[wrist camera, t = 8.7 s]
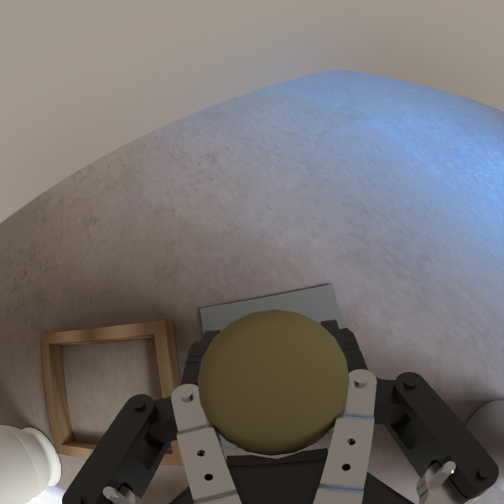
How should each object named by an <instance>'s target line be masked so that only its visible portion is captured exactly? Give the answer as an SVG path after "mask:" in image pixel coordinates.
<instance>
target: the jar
mask: <svg viewBox="0 0 504 504" xmlns="http://www.w3.org/2000/svg"><path fill="white" fill-rule="evenodd" d="M60 477H61V465H60V460H59V457H58V455H57V453H56V451H55V448H54V447H53V445H52V443H51V442H50V441H49V440H48V438H47V437H46V436H45V435H44V434H43V433H41V432H40V431H38V430H37V429H34V428H30V427H28V428H24V429H22V430H21V429H18V428H15V427H11V426H5V425H0V504H25V503H26V502H28V501H29V500H31V499H32V498H34V497H36V496H37V495H39V494H40V493H41V492H42V491H43V490H44V489H45V488H46V487H51V486H54V485H56V484H57V483H58V482H59V480H60Z"/></svg>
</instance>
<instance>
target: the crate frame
mask: <svg viewBox="0 0 504 504" xmlns="http://www.w3.org/2000/svg"><path fill="white" fill-rule="evenodd" d="M146 338H155V347H156V355H157V363H158V371H159V378H160V385H161V392H162V398H167V397H170V396H171V395H172V392H173V391H174V390H175V389H176V388H177V387H179V386H180V385H181V377H180V371H179V363H178V356H177V348H176V340H175V332H174V323H172V322H169V321H167V320H165V319H164V320H157V321H150V322H142V323H135V324H127V325H119V326H110V327H101V328H92V329H83V330H73V331H62V332H51V333H41V346H42V363H43V375H44V385H45V394H46V401H47V408H48V415H49V421H50V427H51V432H52V437H53V442H54V447H55V451H56V453H58V454H63V455H68V456H74V457H80V458H86V459H88V458H89V456H90V455H91V453H92V452H93V450H94V449H95V447H96V446H97V445H98V444H89V443H81V442H74V439H73V434H72V429H71V423H70V417H69V411H68V405H67V397H66V390H65V381H64V371H63V359H62V346H66V345H81V344H94V343H106V342H117V341H127V340H137V339H146ZM160 465H184V464H183V460H182V456H181V452H180V448H179V444H178V440H175V441H172V442H171V448H168V449H167V451H166V453H165V455H164V457H163V459H162V461H161V463H160Z"/></svg>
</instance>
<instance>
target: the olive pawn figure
mask: <svg viewBox="0 0 504 504" xmlns="http://www.w3.org/2000/svg"><path fill="white" fill-rule="evenodd" d="M197 382H198V390H199V398H200V404H201V406H202V408H203V410H204V413H205V415H206V417H207V419H208V421H209V423H210V424H212V425H213V427H214V429H215V430H216V431H217V432H218V433H219V434H220V435H221V436H222V437H223V438H224V439H225V440H226V441H228V442H230V443H232V444H234V445H236V446H238V447H239V448H241V449H243V450H245V451H247V452H253V453H258V454H264V455H271V456H272V455H280V454H287V453H294V452H297V451H299V450H301V449H303V448H306V447H308V446H310V445H312V444H314V443H316V442H317V441H319V440H320V439H321V438H322V437H323V436H324V435H325V434H326V433H327V432H328V431H329V430H330V429H331V428H333V427H334V425H335V423H336V419H337V415H338V414H341V413H342V411H343V409H344V407H345V405H346V400H347V395H348V389H349V384H350V380H349V373H348V367H347V361H346V358H345V356H344V354H343V352H342V350H341V348H340V346H339V344H338V342H337V340H336V339H335V338H334V337H333V336H332V335H331V334H330V333H329V332H328V331H327V330H326V329H325V328H324V327H323V326H322V325H321V324H320V323H318V322H316V321H314V320H312V319H310V318H308V317H306V316H304V315H302V314H300V313H296V312H290V311H283V310H276V309H273V310H267V311H260V312H253V313H250V314H248V315H246V316H244V317H242V318H239V319H237V320H235V321H233V322H231V323H230V324H229V325H227V326H226V327H225V328H224V329H223V330H222V331H221V332H220V333H219V334H218V335H217V336H216V337H214V338H213V340H212V342H211V344H210V345H209V347H208V349H207V351H206V352H205V354H204V356H203V358H202V361H201V366H200V371H199V376H198V381H197Z"/></svg>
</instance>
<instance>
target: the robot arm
mask: <svg viewBox="0 0 504 504" xmlns="http://www.w3.org/2000/svg"><path fill="white" fill-rule="evenodd" d="M321 325H322V326H323V327H324V328H325V329H326V330H327V331H328V332H329V333H330V334H331V335H332V336H333V337H334V338H335V339H336V340H337V342H338V344H339V346H340V348H341V350H342V352H343V354H344V356H345V358H346V361H347V367H348V373H349V380H350V384H349V389H348V395H347V400H346V405H345V407H344V409H343V411H342V413H341V414H338V415H337V419H336V423H335V427H334V432H333V436H332V440H331V444H330V448H329V452H328V451H327V448H324V449H317V450H309V451H302V452H299V453H296V454H293V455H290V456H286V457H283V458H280V459H272V458H266V457H259V456H253V455H241V456H227V460H226V457H225V454H224V452H223V449H222V446H221V443H220V441H219V438H218V435H217V432H216V430H215V429H214V427H213V425H212V424H210V423H209V421H208V419H207V417H206V415H205V413H204V410H203V408H202V406H201V404H200V398H199V390H198V382H197V381H198V376H199V371H200V366H201V361H202V358H203V356H204V354H205V352H206V351H207V349H208V347H209V345H210V344H211V342H212V340H213V338H214V337H216V336H217V335H218V334H219V333H220V332H221V331H220V330H213V331H205V333H204V337H203V341H195V343H194V344H193V345H192V346H191V347H190V349H189V353H188V358H187V361H186V365H185V369H184V373H183V377H182V382H181V385H180V386H179V387H177V388H176V389H175V390H174V391H173V392H172V395H171V396H170V397H167V398H163V399H159V400H154V401H153V399H152V398H151V397H150V396H148V395H145V394H139V395H135V396H133V397H131V398H130V399H129V400H128V401H127V402H126V404H125V405H124V407H123V408H122V409H121V411H120V412H119V414H118V415H117V417H116V418H115V420H114V421H113V423H112V424H111V425H110V427H109V428H108V430H107V431H106V433H105V434H104V436H103V437H102V439H101V440H100V442H99V443H98V445H97V446H96V447H95V449H94V450H93V452H92V453H91V455H90V456H89V458H88V459H87V461H86V462H85V464H84V465H83V467H82V468H81V470H80V471H79V473H78V474H77V476H76V477H75V479H74V480H73V482H72V483H71V485H70V486H69V488H68V489H67V491H66V492H65V494H64V496H63V498H62V504H144V502H143V501H142V500H141V498H142V496H143V495H144V493H145V491H146V489H147V487H148V485H149V483H150V482H151V480H152V478H153V476H154V474H155V472H156V470H157V468H158V466H159V465H160V463H161V461H162V459H163V457H164V455H165V453H166V451H167V449H168V448H169V446H170V444H171V442H172V441H175V440H178V444H179V448H180V452H181V456H182V460H183V464H184V468H185V472H186V475H187V479H188V483H189V486H188V487H187V488H186V489H185V490H184V491H183V492H182V493H181V494H180V495H178V496H177V497H176V498H175V499H174V500H173V501H172V502H171V503H169V504H414V503H413V502H411V501H410V500H408V499H407V498H405V497H403V496H402V495H400V494H399V493H397V492H396V491H394V490H393V489H391V488H390V487H388V486H387V485H386V484H384V483H383V482H381V481H380V480H378V479H377V478H375V477H374V476H373V475H371V474H370V473H368V472H367V468H368V462H369V456H370V450H371V443H372V436H373V428H374V424H384V425H385V427H386V428H387V430H388V431H389V432H390V434H391V435H392V437H393V438H394V440H395V441H396V443H397V444H398V446H399V447H400V448H401V450H402V451H403V453H404V454H405V456H406V457H407V459H408V460H409V462H410V463H411V464H412V466H413V467H414V469H415V470H416V472H417V473H418V475H419V476H420V480H419V481H418V483H417V493H418V496H419V504H471V503H472V502H473V501H474V500H476V499H477V498H478V497H479V496H480V495H482V494H483V493H484V492H485V491H486V490H488V489H489V488H490V487H491V486H493V487H495V488H497V489H499V490H501V491H504V400H494V401H491V402H488V403H487V404H485V405H483V406H482V407H481V408H479V409H478V410H477V411H476V412H475V413H474V414H473V416H472V417H471V418H470V420H469V421H468V422H467V424H466V426H465V425H464V424H463V423H462V422H461V421H460V420H459V418H458V417H457V416H456V415H455V414H454V413H453V412H452V410H451V409H450V408H449V407H448V406H447V405H446V404H445V402H444V401H443V400H442V399H441V398H440V397H439V396H438V395H437V393H436V392H435V391H434V390H433V389H432V388H431V387H430V386H429V385H428V383H427V382H426V381H425V380H424V379H423V378H422V377H421V376H420V375H418V374H416V373H412V372H406V373H403V374H401V375H399V376H398V377H397V378H396V380H382V379H378V378H376V377H375V375H374V374H373V373H371V372H370V371H368V369H367V366H366V364H365V361H364V359H363V356H362V353H361V351H360V349H359V346H358V343H357V341H356V338H355V336H354V334H353V333H352V332H351V331H350V330H349V329H348V328H344V329H339V326H338V323H337V321H336V319H334V320H327V321H321Z"/></svg>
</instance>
